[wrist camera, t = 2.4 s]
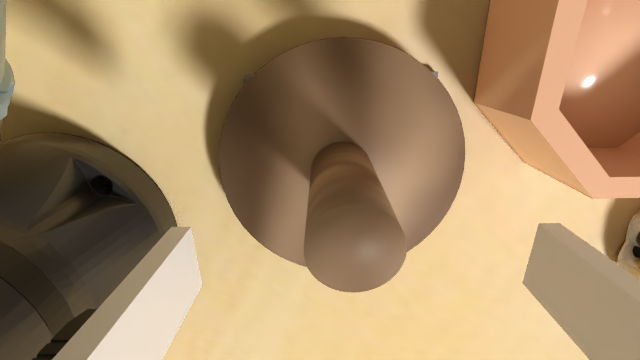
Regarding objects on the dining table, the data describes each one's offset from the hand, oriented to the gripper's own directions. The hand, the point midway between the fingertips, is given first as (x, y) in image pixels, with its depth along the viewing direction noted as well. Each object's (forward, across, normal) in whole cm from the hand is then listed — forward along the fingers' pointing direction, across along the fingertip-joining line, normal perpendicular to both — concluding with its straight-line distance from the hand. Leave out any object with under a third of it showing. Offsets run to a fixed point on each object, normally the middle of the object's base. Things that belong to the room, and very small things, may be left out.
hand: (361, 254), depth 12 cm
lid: (+10, 0, 0) cm, 10 cm away
